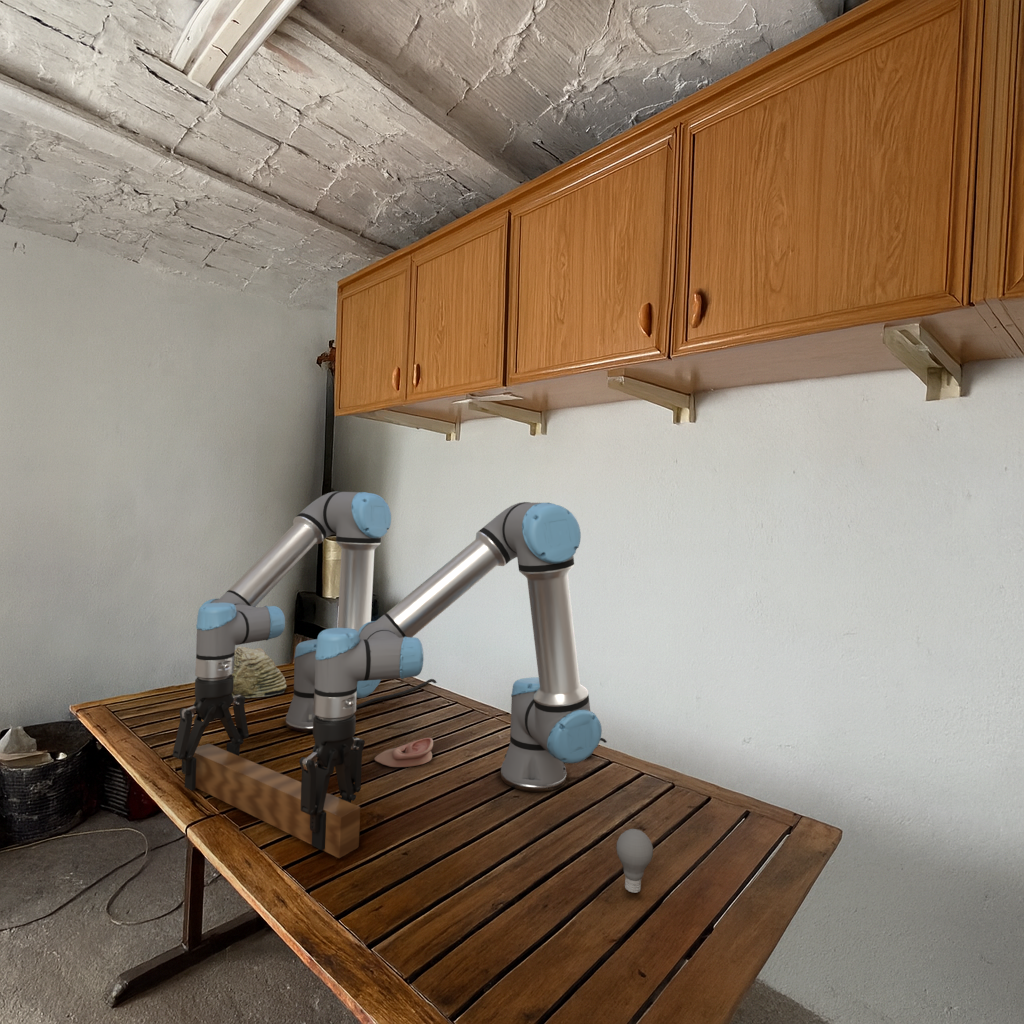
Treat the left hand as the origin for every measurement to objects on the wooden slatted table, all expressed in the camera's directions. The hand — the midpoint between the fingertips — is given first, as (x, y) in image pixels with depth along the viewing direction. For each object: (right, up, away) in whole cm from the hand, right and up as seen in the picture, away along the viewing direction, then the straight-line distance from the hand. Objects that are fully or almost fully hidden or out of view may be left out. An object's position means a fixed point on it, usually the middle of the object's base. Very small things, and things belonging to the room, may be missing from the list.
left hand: (211, 780), depth 136 cm
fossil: (-16, +1, +62) cm, 64 cm away
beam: (+16, -2, -10) cm, 19 cm away
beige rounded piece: (+38, -3, +19) cm, 43 cm away
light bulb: (+85, -6, -31) cm, 90 cm away
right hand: (+31, -2, -20) cm, 37 cm away
